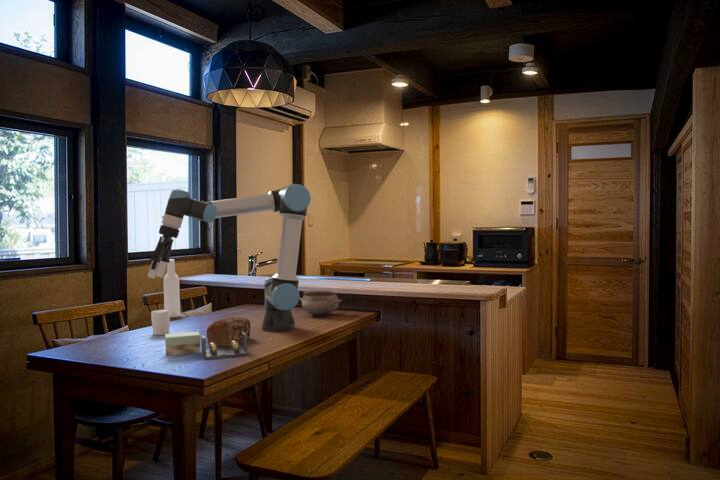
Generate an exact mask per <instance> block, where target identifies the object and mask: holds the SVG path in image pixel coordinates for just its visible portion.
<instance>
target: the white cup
mask: <svg viewBox="0 0 720 480" xmlns="http://www.w3.org/2000/svg"><path fill="white" fill-rule="evenodd" d="M150 318H151V327H152V334H153V335H154V336H162V335H164V336H165V334H170V324H171V323H170V322H171V319H170V310H164V309H158V310H157V309H156V310H152V311H151V312H150Z"/></svg>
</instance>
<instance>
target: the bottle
mask: <svg viewBox="0 0 720 480" xmlns="http://www.w3.org/2000/svg"><path fill="white" fill-rule="evenodd" d="M169 260H170V262H169V263H168V262H167V265H166V267H167V273H165V275H164V276H163V299H164V300H163V305H164V309H163V310H170V318H178V317H181V301H180V300H181V297H180V296H181V295H180V277H179V275H178V274H177V273H176V269H175V268H176V266H175V263H176V262H175V259H173V258H172V259H171V258H170V259H169Z"/></svg>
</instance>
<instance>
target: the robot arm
mask: <svg viewBox="0 0 720 480" xmlns="http://www.w3.org/2000/svg"><path fill="white" fill-rule="evenodd" d="M166 203H167V205H166V206H165V209H164V210H165V211H164V215H162V216H161V218H162V221H161V224H160V226H159V231H158V234H159V235H162V236H159V239H158V242H157V243H156V244H157V245H156V246H155V249H154V250H153V251H154V252H153V253H152V255H151V257H150V261H151V264H150V267H149V268H148V269H149V270H148V273H147V277H148V278H151V279H156V277H159V278H162V279H164V276H165V275H164V273H165V272H166V267H167V262H168V263H169V262H170V260H169V259H171V258H170V257H171V253H172V247H173V243H174V239H177V238H178V237H179V234H180V229H181V227H182V223H183V220H184V217H185V216H186V217H189V218H193V219H194V220H195V221H199V222H200V221H201V222H202V221H203V222H205V223H211V224H212V223H214V221H215V219H219V218H225V217H226V218H227V217H232V216H233V217H234V216H241V215H247V214H254V213H261V212H268V211H271V212H272V213H275V212H276V213H277V212H279V213H278V215H280V217H281V218H282V219H281V226H280V227H281V228H280V236H279V243H278V245H279V246H278V253H277V263H276V271H275V274H273V275H272V276H271V277H270V278H269V277H268V278H266V279H265V280H264V284H263V287H264V314H263V317H262V321H261V330H262V331H267V332H283V331H285V332H286V331H291V330H294V329H296V322H295V319H294V316H293V313H292V309H293V308H295V307H296V306H297V304H298V303H299V300H300V291H299V282H300V279H299V278H298V277H297V268H298V267H297V266H298V260H299V253H300V252H299V251H300V243H301V233H302V225H303V221H304V219H306V218H307V215H308V214H307V212H308V207H309V205H310V203H311V193H310V191H309V189H308V188H306V186H304V185H302V184H298V183H292V184H288V185H287V186H284V187H281V188H278V189H275V190H269V192H268V193H264V194H256V195H249V196H248V195H247V196H240V197H235V198H227V199H226V198H225V199H219V200H212V201H205V202H204V201H201V200H197V199H195V198H192V197H191V192H189V191H187V190H186V191H185V190H183V189H180V188H173V189H171V192H170V195H169V197H168V201H167V202H166Z"/></svg>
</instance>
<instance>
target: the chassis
mask: <svg viewBox="0 0 720 480" xmlns="http://www.w3.org/2000/svg"><path fill="white" fill-rule="evenodd" d="M241 341H242V342H241V345H240V343H237V341H232V345H231V346H229V347H222V348H221V347H219V348H217V347H218V346H217V345H215V343H210V345H209V349H207V337H205V334H204V335H200V347H201V354H202V356H203V358H204V360H205V361H206V360H207V361H208V360H214V359H215V360H217V359H224V358H237V357H245V356H249V353H248V339H247V334H246V333H245V332H241Z"/></svg>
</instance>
